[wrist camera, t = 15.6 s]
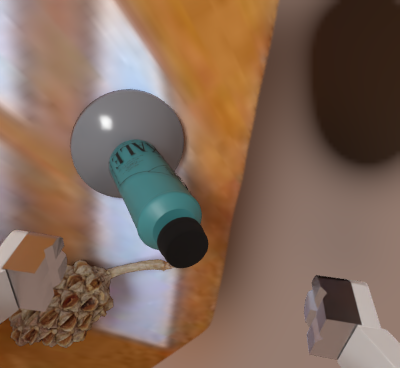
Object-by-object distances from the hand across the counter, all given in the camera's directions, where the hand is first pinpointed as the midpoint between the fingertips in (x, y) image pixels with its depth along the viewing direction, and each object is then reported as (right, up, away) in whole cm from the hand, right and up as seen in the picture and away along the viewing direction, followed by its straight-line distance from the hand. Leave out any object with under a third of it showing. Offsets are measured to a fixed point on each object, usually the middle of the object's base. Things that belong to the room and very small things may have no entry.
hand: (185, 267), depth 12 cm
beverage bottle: (-8, +6, +35) cm, 36 cm away
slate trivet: (-9, +8, +35) cm, 37 cm away
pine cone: (-15, -9, +42) cm, 45 cm away
